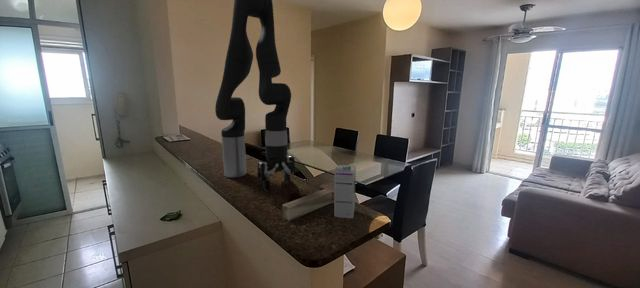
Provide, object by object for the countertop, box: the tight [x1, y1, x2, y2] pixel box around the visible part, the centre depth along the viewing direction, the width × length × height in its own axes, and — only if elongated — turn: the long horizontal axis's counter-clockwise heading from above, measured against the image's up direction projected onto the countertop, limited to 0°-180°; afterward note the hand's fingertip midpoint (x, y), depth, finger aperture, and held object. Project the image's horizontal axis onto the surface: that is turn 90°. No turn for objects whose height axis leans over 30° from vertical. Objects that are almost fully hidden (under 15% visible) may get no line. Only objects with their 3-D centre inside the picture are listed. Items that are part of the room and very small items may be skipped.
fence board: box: [281, 188, 333, 222], centre depth 82 cm, size 3×18×4 cm, turn 135°
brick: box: [280, 179, 302, 203], centre depth 91 cm, size 11×4×5 cm, turn 24°
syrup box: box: [333, 164, 356, 220], centre depth 79 cm, size 6×6×14 cm
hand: (277, 187), depth 94 cm, fingers open, 8 cm apart
